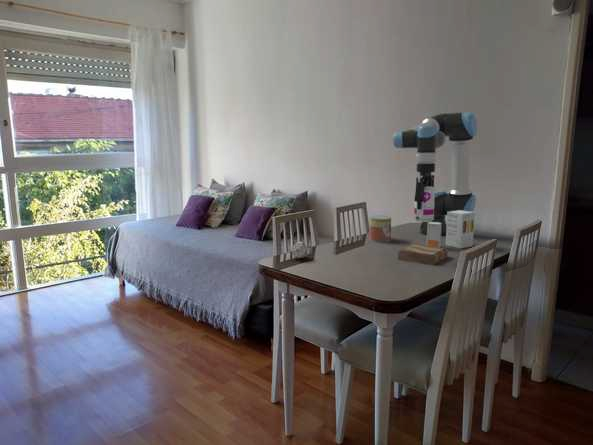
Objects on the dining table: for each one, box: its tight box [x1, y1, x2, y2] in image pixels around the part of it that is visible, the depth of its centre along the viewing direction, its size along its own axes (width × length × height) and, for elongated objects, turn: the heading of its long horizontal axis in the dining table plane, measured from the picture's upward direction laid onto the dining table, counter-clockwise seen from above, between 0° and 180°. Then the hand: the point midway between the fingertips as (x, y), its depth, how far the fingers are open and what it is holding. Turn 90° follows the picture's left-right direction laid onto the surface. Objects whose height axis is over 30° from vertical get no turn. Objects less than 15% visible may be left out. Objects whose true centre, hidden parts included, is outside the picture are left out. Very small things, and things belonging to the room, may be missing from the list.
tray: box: [397, 243, 448, 266], centre depth 200 cm, size 16×16×4 cm
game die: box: [289, 239, 311, 261], centre depth 202 cm, size 9×8×10 cm
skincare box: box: [425, 222, 442, 248], centre depth 218 cm, size 6×4×12 cm
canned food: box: [368, 214, 392, 243], centre depth 236 cm, size 11×11×12 cm
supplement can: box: [413, 185, 436, 223], centre depth 195 cm, size 8×8×15 cm
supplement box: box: [445, 210, 476, 249], centre depth 220 cm, size 10×9×17 cm
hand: (424, 215), depth 196 cm, fingers closed on supplement can, 8 cm apart
